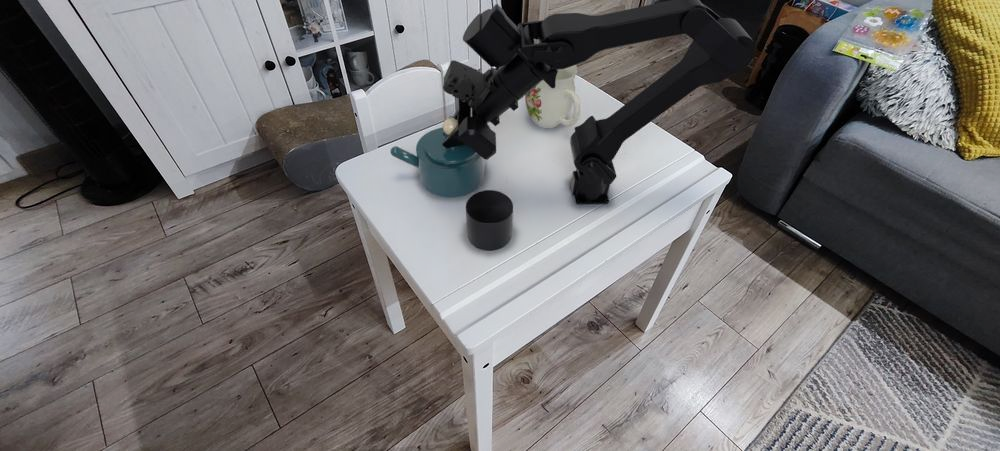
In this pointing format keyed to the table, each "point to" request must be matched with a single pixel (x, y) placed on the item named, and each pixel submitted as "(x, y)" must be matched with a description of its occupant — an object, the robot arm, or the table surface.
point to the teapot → (443, 170)
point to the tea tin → (489, 220)
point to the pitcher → (554, 100)
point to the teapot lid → (448, 154)
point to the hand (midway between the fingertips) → (444, 140)
